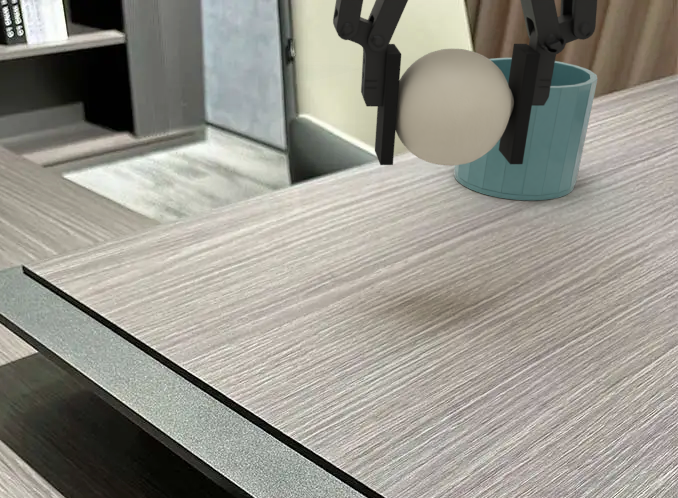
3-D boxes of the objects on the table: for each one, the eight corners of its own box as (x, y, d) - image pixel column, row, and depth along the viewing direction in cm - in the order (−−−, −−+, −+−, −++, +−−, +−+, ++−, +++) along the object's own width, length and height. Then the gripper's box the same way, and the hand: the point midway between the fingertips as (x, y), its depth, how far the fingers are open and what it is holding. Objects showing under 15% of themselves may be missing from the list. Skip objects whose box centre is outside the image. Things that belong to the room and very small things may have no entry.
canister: (552, 159, 83) (572, 58, 78) (592, 200, 73) (617, 88, 68) (443, 159, 82) (455, 57, 77) (468, 200, 73) (484, 87, 68)
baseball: (530, 166, 50) (549, 54, 46) (439, 189, 47) (452, 69, 43) (455, 136, 55) (467, 33, 51) (367, 155, 51) (374, 45, 48)
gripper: (290, -325, 35) (287, 180, 47) (747, -320, 36) (631, 177, 48) (285, -299, 42) (282, 139, 53) (672, -295, 42) (586, 137, 54)
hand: (447, 156), depth 50 cm, fingers closed on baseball, 7 cm apart
